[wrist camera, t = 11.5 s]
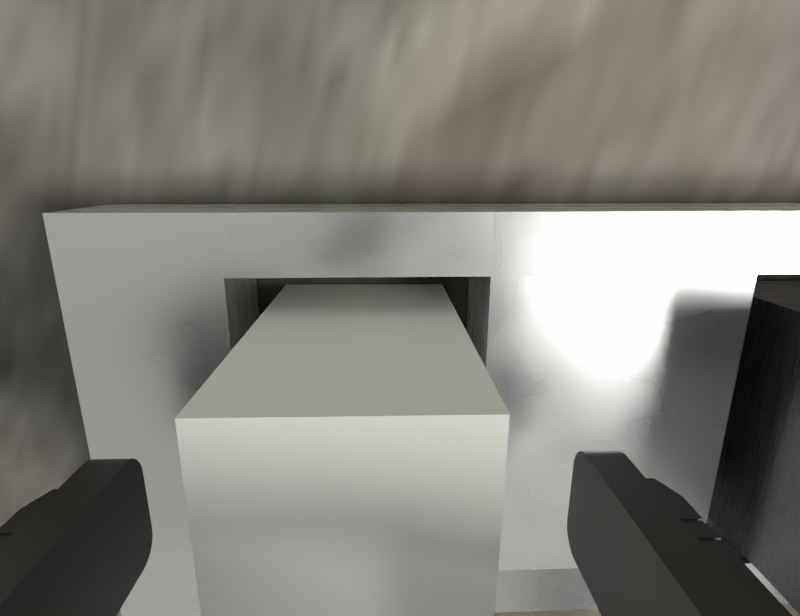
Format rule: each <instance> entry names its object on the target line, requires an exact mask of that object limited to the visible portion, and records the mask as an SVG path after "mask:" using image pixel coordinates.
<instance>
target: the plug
mask: <svg viewBox="0 0 800 616" xmlns="http://www.w3.org/2000/svg"><path fill="white" fill-rule="evenodd" d="M509 419H510V414H509V412H508V410H507V408H506V406H505V404H504V402H503V400H502V399H501V397H500V395H499V393H498V391H497V389H496V387H495V385H494V383H493V381H492V379H491V377H490V375H489V374H488V372H487V370H486V368H485V366H484V364H483V362H482V360H481V358H480V356H479V354H478V352H477V350H476V349H475V347H474V345H473V343H472V341H471V339H470V337H469V335H468V333H467V331H466V329H465V327H464V325H463V324H462V322H461V320H460V318H459V316H458V314H457V312H456V310H455V308H454V306H453V304H452V302H451V300H450V299H449V297H448V295H447V293H446V291H445V289H444V287H443V285H442V284H331V285H285V286H284V288H283V289H282V290H281V291H280V292H279V294H278V295H277V296H276V297H275V299H274V300H273V301H272V302H271V303H270V305H269V306H268V307H267V308H266V309H265V311H264V312H263V313H262V314H261V315H260V317H259V318H258V319H257V320H256V321H255V323H254V324H253V325H252V326H251V327H250V329H249V330H248V331H247V332H246V333H245V335H244V336H243V337H242V338H241V339H240V341H239V342H238V343H237V344H236V345H235V347H234V348H233V349H232V350H231V351H230V353H229V354H228V355H227V356H226V357H225V359H224V360H223V361H222V362H221V363H220V365H219V366H218V367H217V368H216V369H215V371H214V372H213V373H212V374H211V376H210V377H209V378H208V379H207V380H206V382H205V383H204V384H203V385H202V386H201V388H200V389H199V390H198V391H197V392H196V394H195V395H194V396H193V397H192V398H191V400H190V401H189V402H188V403H187V404H186V406H185V407H184V408H183V409H182V410H181V412H180V413H179V414H178V415H177V416H176V418H175V424H176V432H177V439H178V447H179V454H180V462H181V469H182V477H183V484H184V492H185V499H186V507H187V514H188V522H189V529H190V537H191V544H192V551H193V559H194V566H195V574H196V581H197V589H198V596H199V604H200V611H201V616H495V607H496V594H497V580H498V567H499V554H500V540H501V527H502V513H503V500H504V486H505V473H506V459H507V446H508V432H509Z"/></svg>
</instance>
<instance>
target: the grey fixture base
mask: <svg viewBox="0 0 800 616" xmlns="http://www.w3.org/2000/svg"><path fill="white" fill-rule="evenodd" d="M42 214H43V219H44V224H45V229H46V234H47V239H48V245H49V250H50V255H51V260H52V265H53V270H54V275H55V280H56V285H57V290H58V295H59V301H60V306H61V311H62V316H63V321H64V326H65V331H66V336H67V341H68V346H69V351H70V357H71V362H72V367H73V372H74V377H75V382H76V387H77V392H78V397H79V402H80V407H81V413H82V418H83V423H84V428H85V433H86V438H87V443H88V448H89V453H90V458H91V460H92V459H137V460H138V461H139V462H140V464H141V466H142V470H143V476H144V482H145V488H146V494H147V500H148V506H149V512H150V518H151V524H152V533H153V537H152V547H151V552H150V555H149V559H148V562H147V564H146V566H145V568H144V570H143V572H142V573H141V575H140V577H139V578H138V580H137V582H136V584H135V585H134V587H133V589H132V590H131V592H130V594H129V595H128V597H127V599H126V600H125V602H124V604H123V605H122V607H121V609H120V611H121V616H201V611H200V604H199V596H198V589H197V581H196V574H195V566H194V559H193V551H192V544H191V537H190V529H189V522H188V514H187V507H186V499H185V492H184V484H183V477H182V469H181V462H180V454H179V447H178V439H177V432H176V424H175V418H176V416H177V415H178V414H179V413H180V412H181V410H182V409H183V408H184V407H185V406H186V404H187V403H188V402H189V401H190V400H191V398H192V397H193V396H194V395H195V394H196V392H197V391H198V390H199V389H200V388H201V386H202V385H203V384H204V383H205V382H206V380H207V379H208V378H209V377H210V376H211V374H212V373H213V372H214V371H215V369H216V368H217V367H218V366H219V365H220V363H221V362H222V361H223V360H224V359H225V357H226V356H227V355H228V354H229V353H230V351H231V350H232V349H233V348H234V347H235V345H236V344H237V343H238V342H239V341H240V339H241V338H242V337H243V336H244V335H245V333H246V332H247V331H248V330H249V329H250V327H251V326H252V325H253V324H254V323H255V321H256V320H257V319H258V318H259V317H260V315H259V303H258V290H257V278H346V277H469V284H468V309H467V333H468V335H469V337H470V339H471V341H472V343H473V345H474V347H475V349H476V350H477V352H478V354H479V356H480V358H481V360H482V362H483V364H484V366H485V368H486V370H487V372H488V374H489V375H490V377H491V379H492V381H493V383H494V385H495V387H496V389H497V391H498V393H499V395H500V397H501V399H502V400H503V402H504V404H505V406H506V408H507V410H508V412H509V414H510V419H509V432H508V446H507V459H506V473H505V486H504V500H503V513H502V527H501V540H500V554H499V567H498V580H497V594H496V607H495V612H522V611H554V610H587V609H598V607H597V605H596V603H595V601H594V599H593V597H592V595H591V593H590V591H589V589H588V587H587V585H586V583H585V581H584V579H583V577H582V575H581V573H580V571H579V569H578V566H577V564H576V562H575V560H574V558H573V556H572V553H571V549H570V545H569V541H568V534H567V518H568V509H569V500H570V491H571V482H572V473H573V464H574V459H575V456H576V454H577V453H578V452H579V451H622V452H623V453H624V454H625V455H626V456H627V457H628V458H629V459H630V460H631V462H632V463H633V464H634V465H635V466H636V467H637V469H638V470H639V471H640V472H641V473H642V474H643V476H644V477H645V478H655V479H656V480H658V481H659V482H661V483H663V484H664V485H666V486H667V487H669V488H670V489H672V490H673V491H675V492H677V493H678V494H680V495H681V496H683V497H684V499H685V500H686V501H687V502H688V503H689V504H690V505H691V506H692V507H693V508H694V509H695V511H696V512H697V513H698V514H699V515H700V516H701V517H702V518H703V522H704V523H707V524H708V525H709V526H710V527H711V528H712V529H713V530H714V531H715V532H716V533H717V534H718V536H719V537H720V538H721V542H722V543H726V544H727V545H728V546H729V548H730V549H731V550H732V551H733V552H734V553H735V554H736V555H737V556H738V557H739V558H740V559H741V561H742V562H743V563H744V564H745V565H746V566H747V567H748V568H749V569H750V570H751V571H752V573H753V574H754V575H755V576H756V577H757V578H758V579H759V580H760V581H761V582H762V583H763V585H764V586H765V587H766V588H767V589H768V590H769V591H770V592H771V593H772V594H773V595H774V596H775V598H776V599H777V600H778V601H779V602H780V603H789V604H790V605H791V606H792V607H793V608H794V609H795V610H796V611H797V612H798V613H799V614H800V280H756V279H757V275H769V274H800V203H418V204H108V205H101V206H93V207H85V208H78V209H70V210H62V211H54V212H47V213H42Z"/></svg>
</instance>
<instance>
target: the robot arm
mask: <svg viewBox="0 0 800 616" xmlns="http://www.w3.org/2000/svg"><path fill="white" fill-rule="evenodd" d="M567 534H568V541H569V545H570V549H571V553H572V556H573V558H574V560H575V562H576V564H577V566H578V569H579V571H580V573H581V575H582V577H583V579H584V581H585V583H586V585H587V587H588V589H589V591H590V593H591V595H592V597H593V599H594V601H595V603H596V605H597V607H598V609H599V611H600V613H601V615H602V616H792V615H791V614H790V613H789V612H788V611H787V610H786V608H785V607H784V606H783V605H782V604H781V603H780V602H779V601H778V600H777V599H776V598H775V596H774V595H773V594H772V593H771V592H770V591H769V590H768V589H767V588H766V587H765V586H764V585H763V583H762V582H761V581H760V580H759V579H758V578H757V577H756V576H755V575H754V574H753V573H752V571H751V570H750V569H749V568H748V567H747V566H746V565H745V564H744V563H743V562H742V561H741V559H740V558H739V557H738V556H737V555H736V554H735V553H734V552H733V551H732V550H731V549H730V548H729V546H728V545H727V544H726V543H722V542H721V538H720V537H719V536H718V534H717V533H716V532H715V531H714V530H713V529H712V528H711V527H710V526H709V525H708V524H707V523H704V522H703V518H702V517H701V516H700V515H699V514H698V513H697V512H696V511H695V509H694V508H693V507H692V506H691V505H690V504H689V503H688V502H687V501H686V500H685V499H684V497H683V496H681V495H680V494H678V493H677V492H675V491H673V490H672V489H670V488H669V487H667V486H666V485H664V484H663V483H661V482H659V481H658V480H656V479H655V478H645V477H644V476H643V474H642V473H641V472H640V471H639V470H638V469H637V467H636V466H635V465H634V464H633V463H632V462H631V460H630V459H629V458H628V457H627V456H626V455H625V454H624V453H623V452H622V451H579V452H578V453H577V454H576V456H575V459H574V464H573V473H572V482H571V491H570V500H569V509H568V518H567ZM152 537H153V533H152V524H151V518H150V512H149V506H148V500H147V494H146V488H145V482H144V476H143V470H142V466H141V464H140V462H139V461H138V460H137V459H92V460H89V461H87V462H85V463H84V464H83V465H82V466H81V467H80V468H79V469H78V470H77V471H76V472H75V473H74V474H73V475H72V476H71V477H70V478H69V479H68V480H67V481H66V482H65V483H64V484H63V485H62V486H61V487H60V488H59V489H53V490H51V491H50V492H48V493H46V494H45V495H43V496H41V497H40V498H38V499H36V500H35V501H33V502H31V503H30V504H28V505H26V506H25V507H23V508H21V509H20V510H19V511H18V512H17V513H15V514H14V515H13V516H12V517H11V518H10V519H9V520H8V521H7V522H6V523H5V524H4V525H3V526H2V527H1V528H0V616H116V615H117V614H118V612H119V610H120V609H121V607H122V605H123V604H124V602H125V600H126V599H127V597H128V595H129V594H130V592H131V590H132V589H133V587H134V585H135V584H136V582H137V580H138V578H139V577H140V575H141V573H142V572H143V570H144V568H145V566H146V564H147V562H148V559H149V555H150V552H151V547H152Z"/></svg>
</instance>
